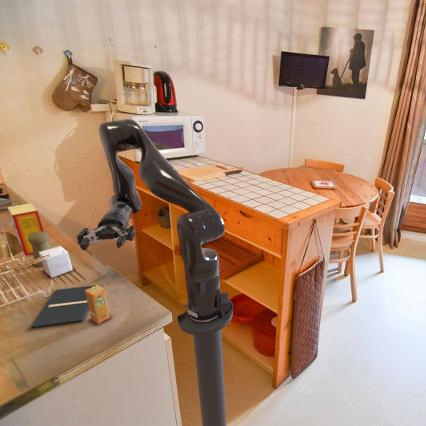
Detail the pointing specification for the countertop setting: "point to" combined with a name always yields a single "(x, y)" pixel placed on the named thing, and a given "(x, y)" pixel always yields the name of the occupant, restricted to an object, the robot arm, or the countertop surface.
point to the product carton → (56, 261)
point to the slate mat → (64, 307)
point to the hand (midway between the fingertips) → (101, 246)
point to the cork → (39, 244)
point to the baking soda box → (25, 224)
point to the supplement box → (97, 304)
